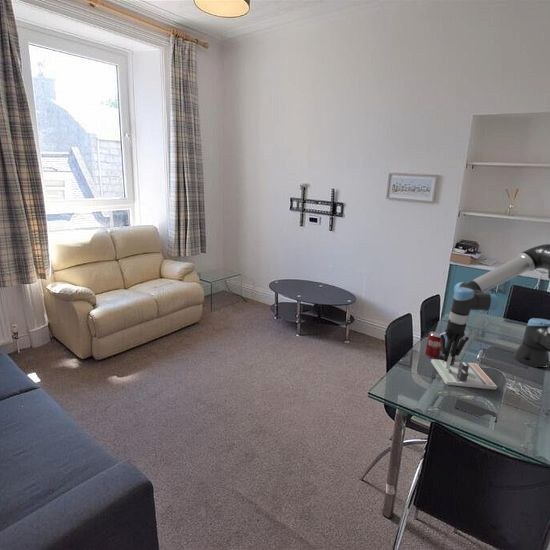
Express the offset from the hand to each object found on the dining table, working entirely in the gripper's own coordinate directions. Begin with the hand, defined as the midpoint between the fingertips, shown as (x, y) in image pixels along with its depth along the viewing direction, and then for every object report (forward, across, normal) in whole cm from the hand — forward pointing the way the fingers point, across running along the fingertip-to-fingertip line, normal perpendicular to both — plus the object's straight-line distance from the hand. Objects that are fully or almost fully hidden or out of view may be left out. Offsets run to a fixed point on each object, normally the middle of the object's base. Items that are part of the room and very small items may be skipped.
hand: (446, 367), depth 174 cm
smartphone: (+4, -2, +28) cm, 28 cm away
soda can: (+3, 0, -17) cm, 17 cm away
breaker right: (+2, -4, +7) cm, 8 cm away
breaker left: (+2, -4, -7) cm, 8 cm away
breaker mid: (+2, -8, 0) cm, 8 cm away
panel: (+3, -8, 0) cm, 8 cm away
